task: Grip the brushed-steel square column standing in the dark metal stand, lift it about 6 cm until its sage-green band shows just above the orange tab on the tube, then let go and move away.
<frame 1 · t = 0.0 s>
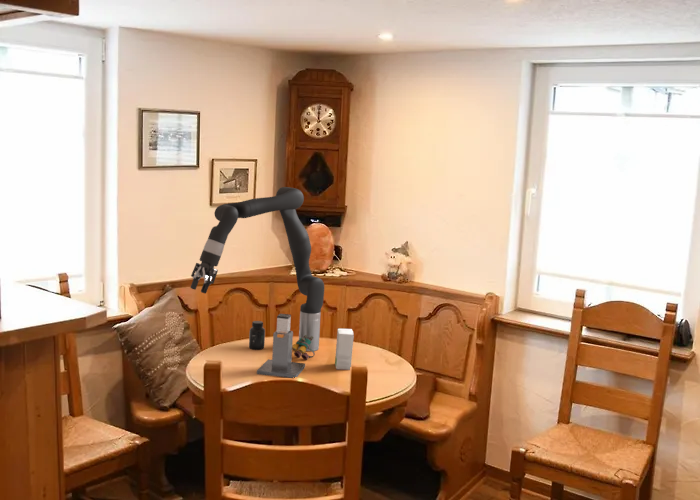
hand: (197, 290, 283), 31 cm above the table, tool tilted 20°, fingers open, 8 cm apart
skincare box: (343, 367, 300), on the table
stand: (281, 370, 290), on the table
supplement bottle: (256, 348, 319), on the table
column: (282, 340, 288), point 12 cm above the table, slide at 0.0 cm
binoculars: (302, 359, 308), on the table
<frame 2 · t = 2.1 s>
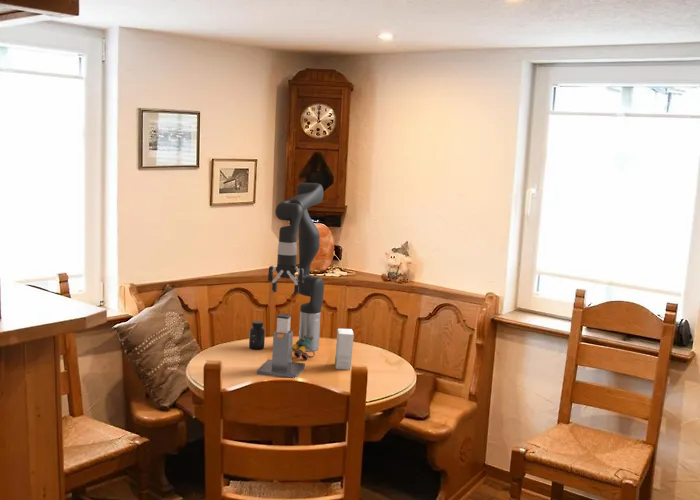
hand: (285, 292, 285), 32 cm above the table, tool pointing down, fingers open, 8 cm apart
nothing on the table moved.
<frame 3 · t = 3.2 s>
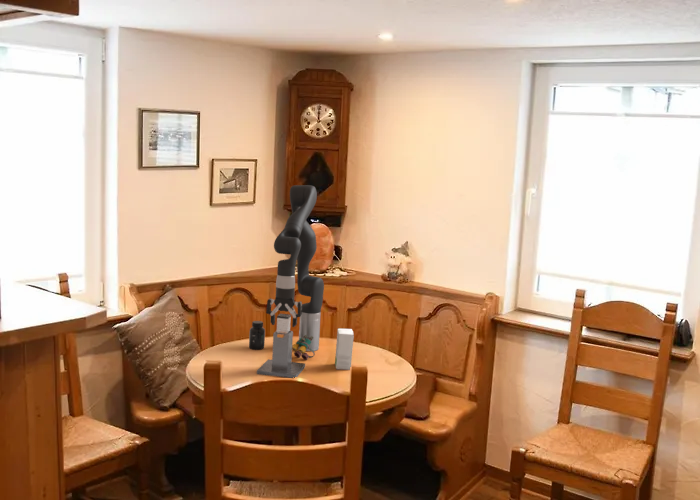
hand: (283, 325, 287), 19 cm above the table, tool pointing down, fingers open, 8 cm apart
nothing on the table moved.
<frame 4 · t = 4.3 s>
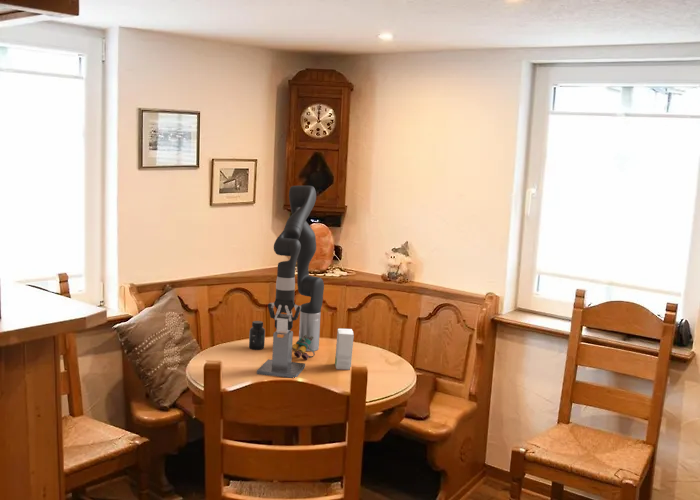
hand: (283, 329, 287), 17 cm above the table, tool pointing down, fingers closed on column, 4 cm apart
column: (282, 340, 288), point 12 cm above the table, slide at 0.0 cm, touching gripper
everything else where it was.
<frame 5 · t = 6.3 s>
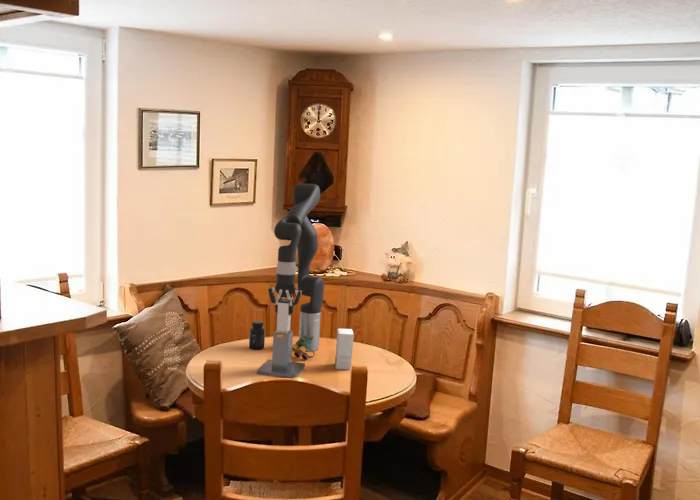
hand: (284, 313, 287), 24 cm above the table, tool pointing down, fingers closed on column, 4 cm apart
column: (283, 325, 287), point 19 cm above the table, slide at 6.3 cm, touching gripper
everything else where it was.
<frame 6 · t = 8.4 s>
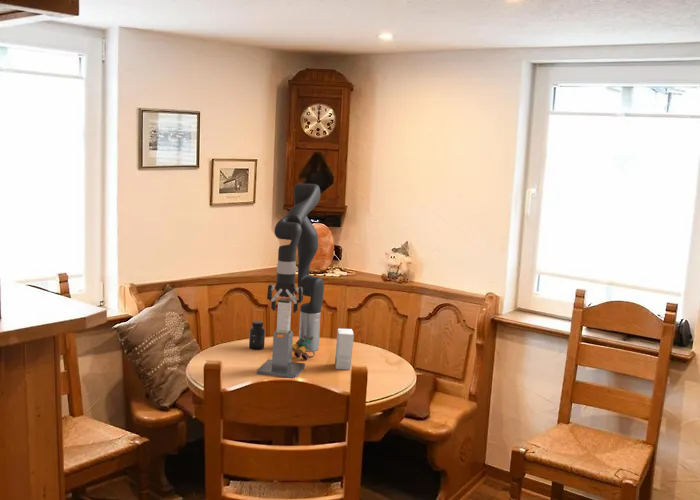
hand: (284, 311, 286), 25 cm above the table, tool pointing down, fingers open, 8 cm apart
column: (283, 325, 287), point 19 cm above the table, slide at 6.5 cm
everything else where it was.
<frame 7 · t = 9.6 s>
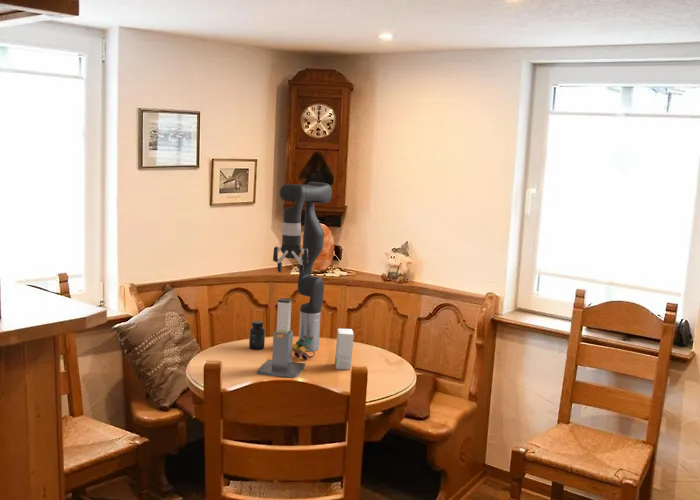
hand: (290, 272, 291), 39 cm above the table, tool pointing down, fingers open, 8 cm apart
nothing on the table moved.
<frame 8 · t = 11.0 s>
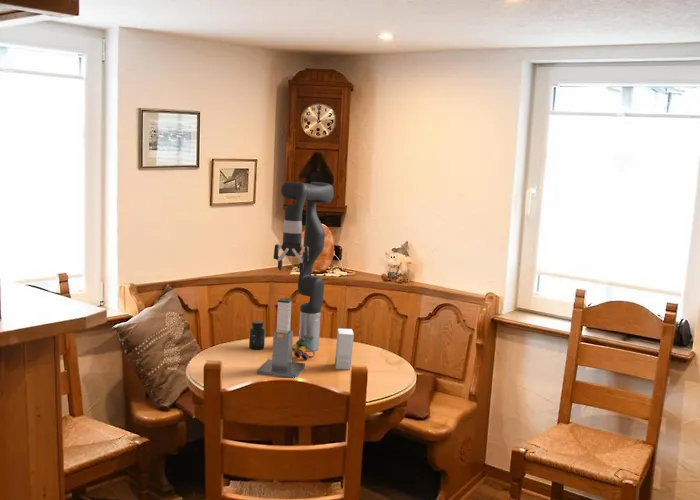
hand: (290, 270, 291), 40 cm above the table, tool pointing down, fingers open, 8 cm apart
nothing on the table moved.
at the end: column slide at 6.5 cm; the gripper is holding nothing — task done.
